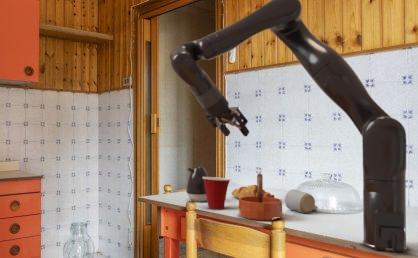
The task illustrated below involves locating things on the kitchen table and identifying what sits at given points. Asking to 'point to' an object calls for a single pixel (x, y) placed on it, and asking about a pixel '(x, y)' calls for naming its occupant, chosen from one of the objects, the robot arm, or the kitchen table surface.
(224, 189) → the plastic cup
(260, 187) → the wooden peg stand
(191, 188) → the pump dispenser
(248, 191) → the croissant
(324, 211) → the kitchen table surface
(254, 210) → the bowl
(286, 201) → the ceramic mug
